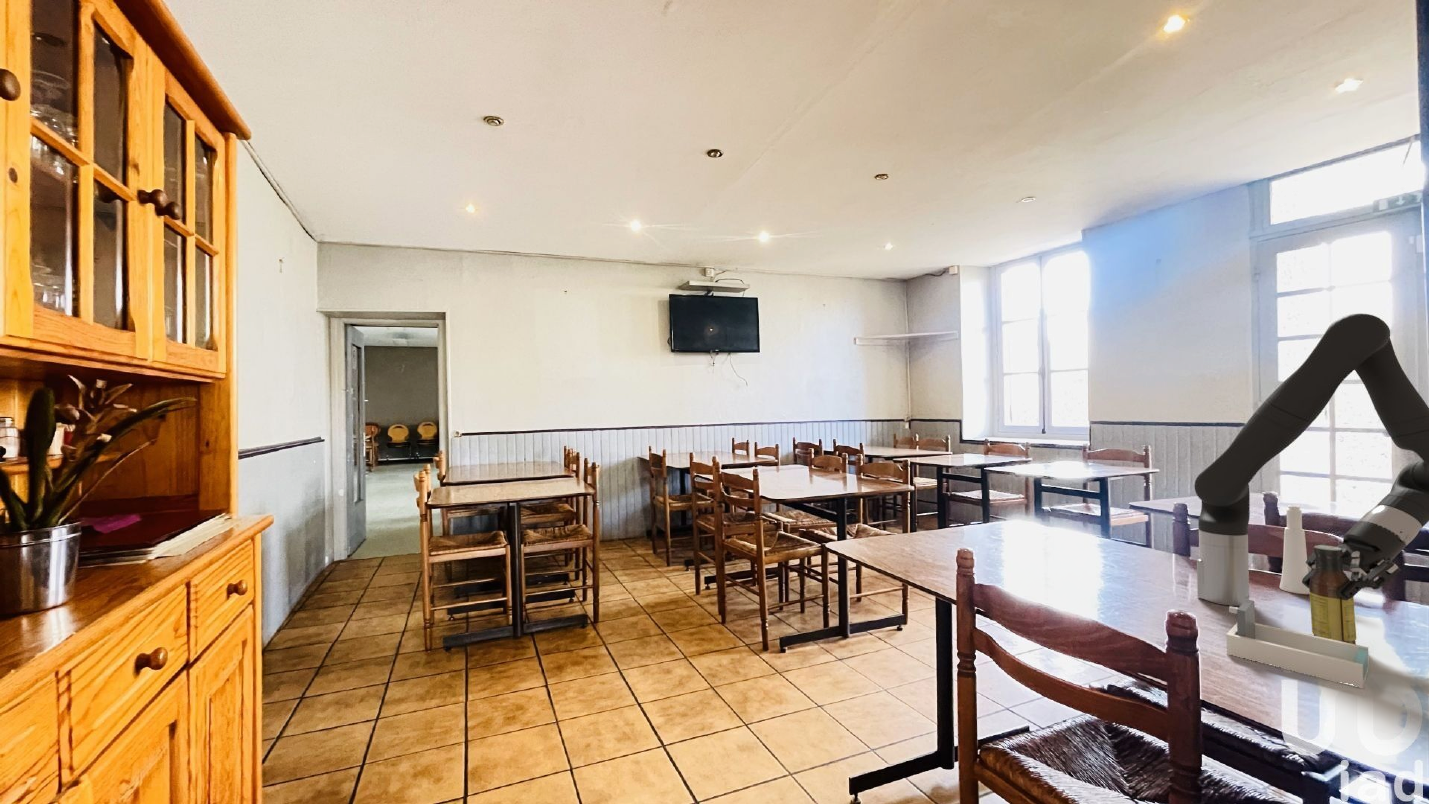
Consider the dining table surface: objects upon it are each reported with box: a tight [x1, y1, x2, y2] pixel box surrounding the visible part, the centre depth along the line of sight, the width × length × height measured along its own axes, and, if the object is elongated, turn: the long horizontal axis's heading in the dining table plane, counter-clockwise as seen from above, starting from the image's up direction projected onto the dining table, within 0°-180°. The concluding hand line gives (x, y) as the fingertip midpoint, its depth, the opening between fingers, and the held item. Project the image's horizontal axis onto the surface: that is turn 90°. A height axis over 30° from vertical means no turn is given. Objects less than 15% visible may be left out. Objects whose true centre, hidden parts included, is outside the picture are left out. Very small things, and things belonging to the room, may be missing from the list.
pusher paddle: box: [1228, 599, 1256, 639], centre depth 117 cm, size 3×9×8 cm, turn 128°
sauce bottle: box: [1309, 544, 1357, 645], centre depth 118 cm, size 7×6×20 cm
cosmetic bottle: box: [1279, 504, 1310, 595], centre depth 149 cm, size 6×6×22 cm
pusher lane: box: [1225, 622, 1370, 690], centre depth 111 cm, size 18×12×4 cm, turn 38°
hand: (1323, 591), depth 118 cm, fingers closed on sauce bottle, 6 cm apart
